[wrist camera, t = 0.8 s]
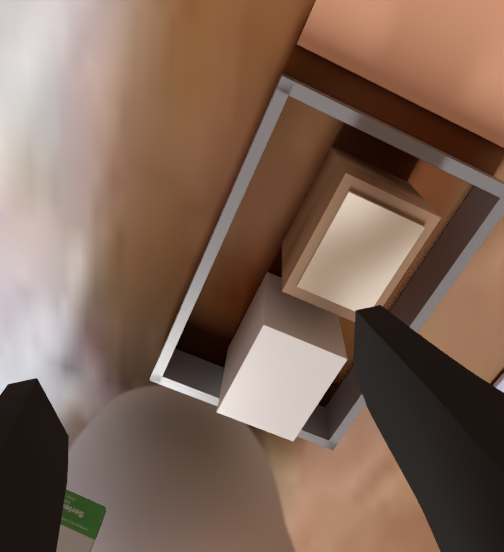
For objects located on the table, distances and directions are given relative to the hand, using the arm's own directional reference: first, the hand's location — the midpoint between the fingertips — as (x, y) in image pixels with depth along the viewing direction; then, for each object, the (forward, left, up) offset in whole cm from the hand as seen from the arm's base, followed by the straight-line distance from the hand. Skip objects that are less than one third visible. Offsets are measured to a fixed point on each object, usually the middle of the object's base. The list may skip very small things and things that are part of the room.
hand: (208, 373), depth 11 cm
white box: (-5, +7, -17) cm, 19 cm away
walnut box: (-5, -1, -17) cm, 17 cm away
